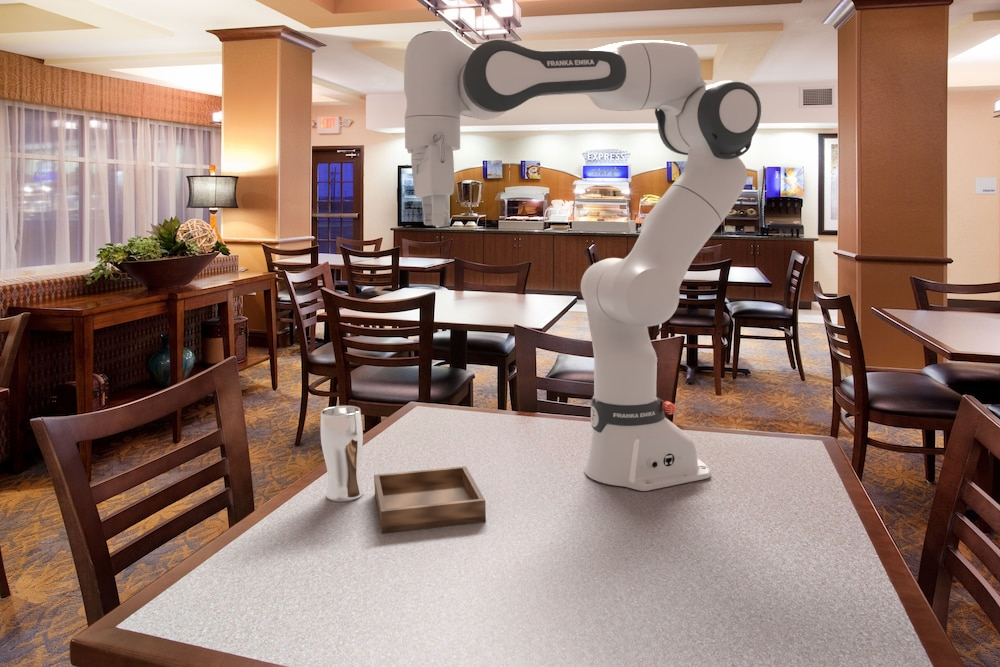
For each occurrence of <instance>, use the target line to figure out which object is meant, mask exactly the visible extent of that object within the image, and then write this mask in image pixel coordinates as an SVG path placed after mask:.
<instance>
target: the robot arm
mask: <svg viewBox="0 0 1000 667" xmlns="http://www.w3.org/2000/svg"><path fill="white" fill-rule="evenodd" d="M403 92H404V94H405V99H406V109H405V113H404V148H405V149H406V152H407V153H408V154H411V155H410V160H411V161H410V162H411V173H412V183H413V189H414V195H415V197H416V198H418V199H421V207H422V213H423V225H425V226H435V227H442V226H444V225H445V213H446V207H447V197H448V196H452V195H454V191H455V163H454V160H455V159H454V152H455V151H459V150H460V149H461V116H464V117H468V118H473V119H477V120H481V121H488V120H493V119H495V118H498V117H500V116H501V115H503V114H505V113H506V112H508V111H510V110H513V109H515V108H517V107H519V106H521V105H522V104H524V103H526V102H527V101H529V100H530V99H533V98H537V97H543V96H545V97H547V96H563V95H585V96H588V98H589V99H590V100H591V101H590V102H592V103H593V105H595V107H596V108H599V109H601V110H605V111H606V110H607V111H613V112H614V111H615V112H631V111H641V110H642V111H643V110H654V114H655V118H656V120H657V129H658V133H659V136H660V139H661V141H662V143H663V145H664V146H665V147H666V148H667V149H668V150H670V151H671V152H673V153H676V154H679V155H683V156H687V159H686V163H685V166H684V168H683V170H682V171H681V172H682V173H681V174H680V175H679V176H678V177H677V178H676V179H675V181H674V182H673V183H672V184H671V185H670V186H669V188H667V190H666V191H665V193H664V194H662V196H661V197H660V198H659V200H658V202H656V204H655V205H654V206H653V207H652V209H651V210H650V211H649V212H648V213H647V215H646V216H645V218H644V219H643V221H642V222H641V231H640V233H639V236H638V237H637V239H636V242H635V243H634V246H633V247H632V249H631V251H630V252H629V253H628V255H627V256H625V257H624V258H619V257H609V258H605V259H602V260H599V261H597V262H595V263H593V264H591V265H590V266H589V267H588V268H587V269H586V270H585V272H584V274H583V275H582V278H581V281H580V292H581V296H582V299H583V301H584V303H585V307H586V313H587V318H588V319H587V320H588V326H589V332H590V337H591V338H590V339H591V342H592V343H591V344H592V349H593V350H592V351H593V367H594V368H593V369H594V370H593V379H594V382H593V392H594V393H593V396H592V397H591V408H590V422H591V428H592V434H591V442H590V448H589V453H588V457H587V460H586V465H585V466H584V467H585V468H584V473H585V475H586V476H587V477H589V478H590V479H591V480H594V481H596V482H599V483H602V484H605V485H611V486H618V487H625V488H629V489H633V490H636V491H641V492H647V491H651V490H657V489H658V490H659V489H662V488H667V487H672V486H676V485H681V484H686V483H691V482H696V481H701V480H705V479H710V477H711V470H710V467H709V466H708V465H707V464H706V463H705V462H703V461H702V460H701V459H700V458H698V453H697V449H696V444H695V443H694V440H693V439H692V437H691V436H689V434H688V433H686V432H685V431H684V430H683V429H681V428H680V427H678V426H677V425H676V424H674V423H673V422H672V421H671V420H670V419H668V418H667V417H666V415H665V413H666V414H668V415H674V414H675V412H676V411H677V405H676V404H674V403H672V402H671V401H669V400H664V399H661V398H659V397H658V396H657V379H658V378H657V372H658V371H657V370H658V365H657V363H658V357H657V352H656V349H655V348H654V347H653V344H652V342H651V337H650V334H649V329H648V327H654V326H659V325H661V324H664V323H665V322H667V321H668V320H670V319H671V318H672V317H673V315H674V314H675V312H676V311H677V308H678V306H679V303H680V295H681V294H680V288H681V284H682V282H683V281H684V278H685V276H686V274H687V272H688V270H689V268H690V266H691V264H692V262H693V261H694V259H695V258H696V256H697V255H698V253H699V252H700V251H701V250H702V248H703V247H704V246H705V245H706V243H707V242H708V241H709V239H710V238H711V237H712V236H713V235H714V233H715V231H716V230H717V229H718V228H719V226H720V225H721V224H722V223H723V222H724V221H725V219H726V218H727V217H728V214H729V213H731V210H732V209H733V207H734V206H735V204H736V203H737V201H738V199H739V198H740V196H741V193H742V192H743V190H744V189H745V186H746V184H747V181H748V171H747V168H746V166H745V164H744V162H743V161H742V159H740V157H741V156H743V155H744V154H745V153H747V152H748V151H749V149H750V148H751V145H752V140H753V137H754V135H755V134H756V132H757V129H758V127H759V125H760V121H761V116H762V105H761V104H762V103H761V99H760V97H759V95H758V93H757V92H756V91H755V89H753V87H752V86H750V85H748V84H747V83H744V82H742V81H737V80H722V81H718V82H716V83H714V84H713V83H712V84H709V85H707V82H705V80H704V79H703V76H702V63H701V60H700V57H699V55H698V53H697V51H696V50H695V49H694V48H693V47H692V46H690V45H689V44H685V43H681V42H673V41H666V40H632V41H631V40H630V41H622V42H618V43H613V44H612V43H611V44H607V45H603V46H600V47H596V48H593V49H586V50H585V49H583V50H551V51H550V50H548V51H547V50H545V51H544V50H535V49H530V48H527V47H526V46H525V47H524V46H522V45H519V44H517V43H514V42H512V41H509V40H506V39H492V40H489V41H485V42H484V43H482V44H479V45H478V46H477V47H476V48H474V47H472V46H471V45H469V44H467V43H466V42H465V41H464V40H462V39H460V38H459V36H457V35H456V33H455V32H454V31H452V30H449V29H439V28H438V29H431V30H426V31H423V32H421V33H417V34H416V35H415V36H414V37H412V38H411V39H410V40H409V42H408V43H407V45H406V49H405V57H404V66H403ZM742 150H743V151H742ZM453 151H454V152H453Z"/></svg>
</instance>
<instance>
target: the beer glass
mask: <svg viewBox="0 0 1000 667" xmlns="http://www.w3.org/2000/svg"><path fill="white" fill-rule="evenodd" d="M361 414H362V412H361V408H360V407H358V406H355V405H337V406H335V405H334V406H329V407H326V408H324V409H322V410H321V411H320V441H321V442H320V443H321V444H320V445H321V449H322V454H323V458H324V463H325V466H326V471H327V477H328V478H327V489H326V490H327V491H326V498H327V500H330V501H331V502H337V503H344V502H346V503H347V502H353V501H356V500H357V499H360V498H361V497H362V496H363V495H364V490H363V486H362V482H361V472H360V470H361V468H360V467H361V461H362V460H361V459H362V454H363V444H364V443H363V442H364V438H363V437H364V432H363V429H364V428H363V422H362V415H361Z"/></svg>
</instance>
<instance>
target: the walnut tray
mask: <svg viewBox="0 0 1000 667" xmlns="http://www.w3.org/2000/svg"><path fill="white" fill-rule="evenodd" d="M373 481H374V484H373V485H374V497H375V501H376V502H375V503H376V509H377V512H378V513H377V514H378V518H379V519H378V520H379V523H380V524H379V525H380V529H381V534H389V533H390V532H391V533H398V531H400V532H407V531H406V530H408V531H415V530H414V529H417V530H424V529H434V528H441V527H450V526H460V525H469V524H478V523H486V522H487V521H486V520H487V516H486V515H487V513H486V498H485V497H484V495H483V494H482V492H481V490H480V488H479V487H478V485H477V482H475V480H474V478H473V476H472V475H471V473H470V470H469V469H468V467H467V466H466V465H465V466H453V467H444V468H443V467H442V468H432V469H422V470H411V471H399V472H390V473H381V474H380V473H379V474H374V475H373ZM391 533H390V534H391Z"/></svg>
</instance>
